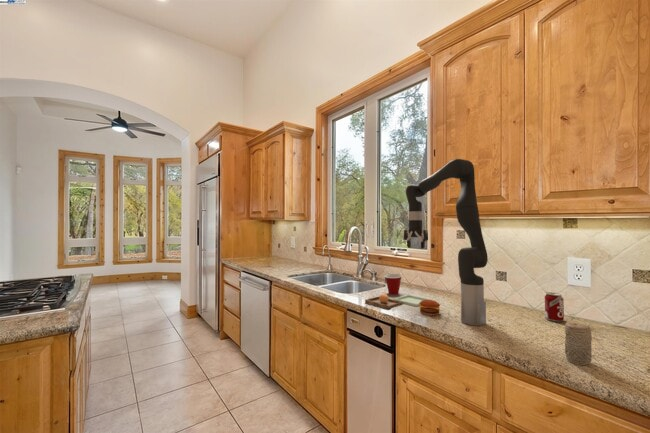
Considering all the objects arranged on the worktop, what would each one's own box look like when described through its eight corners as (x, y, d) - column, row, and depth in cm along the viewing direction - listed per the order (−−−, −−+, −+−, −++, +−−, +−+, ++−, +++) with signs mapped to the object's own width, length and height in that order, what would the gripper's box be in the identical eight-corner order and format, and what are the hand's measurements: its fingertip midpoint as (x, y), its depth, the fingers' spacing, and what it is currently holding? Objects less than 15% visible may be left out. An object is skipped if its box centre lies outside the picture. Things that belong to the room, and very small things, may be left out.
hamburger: (419, 310, 148) (419, 297, 148) (440, 312, 145) (439, 298, 145) (418, 315, 139) (418, 301, 140) (440, 318, 136) (440, 303, 136)
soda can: (544, 320, 132) (543, 293, 132) (545, 316, 137) (545, 291, 137) (563, 323, 127) (562, 296, 128) (564, 320, 132) (563, 293, 133)
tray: (402, 305, 156) (402, 301, 156) (388, 309, 149) (388, 306, 149) (379, 299, 169) (379, 296, 169) (365, 303, 161) (365, 299, 161)
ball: (390, 303, 158) (390, 293, 159) (384, 304, 155) (384, 295, 155) (383, 301, 162) (382, 292, 162) (377, 303, 159) (377, 293, 159)
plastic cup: (380, 293, 183) (380, 274, 183) (394, 291, 188) (394, 273, 188) (391, 297, 173) (391, 277, 174) (405, 295, 178) (405, 275, 178)
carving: (561, 361, 93) (560, 323, 93) (570, 355, 97) (569, 319, 97) (586, 369, 88) (585, 329, 88) (595, 363, 92) (594, 324, 92)
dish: (431, 302, 161) (431, 299, 161) (416, 307, 152) (416, 304, 152) (408, 297, 173) (408, 294, 173) (392, 301, 163) (392, 298, 163)
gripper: (430, 219, 163) (430, 248, 163) (408, 219, 174) (408, 246, 173) (423, 219, 158) (423, 249, 158) (400, 219, 169) (401, 247, 169)
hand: (415, 248), depth 166 cm, fingers open, 8 cm apart
